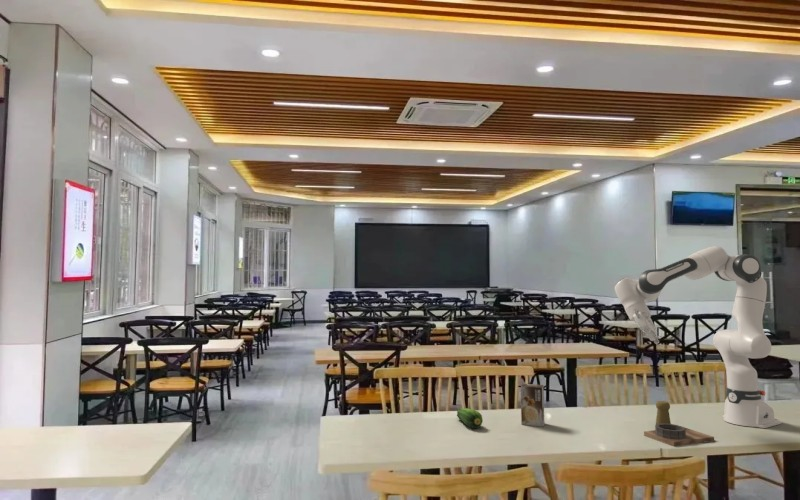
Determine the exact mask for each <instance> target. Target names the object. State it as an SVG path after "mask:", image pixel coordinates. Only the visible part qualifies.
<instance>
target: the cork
mask: <svg viewBox="0 0 800 500" xmlns="http://www.w3.org/2000/svg"><path fill="white" fill-rule="evenodd" d="M655 406H656V409H657V411H656V419H655V425H657V424H672V423H671V417H670V408H671V404H670V403H669V402H668V401H665V400H658V401H656V402H655Z"/></svg>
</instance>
